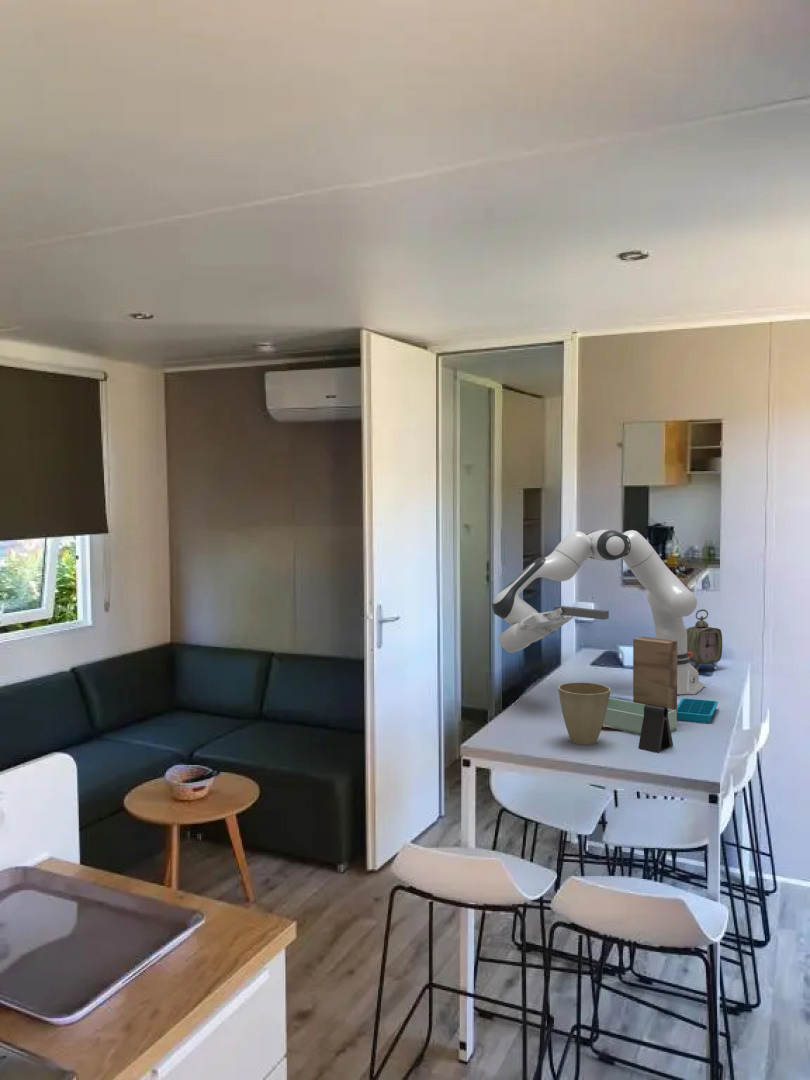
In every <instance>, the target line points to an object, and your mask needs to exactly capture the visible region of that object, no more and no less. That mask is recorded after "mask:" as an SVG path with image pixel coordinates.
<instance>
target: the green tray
mask: <svg viewBox="0 0 810 1080" xmlns="http://www.w3.org/2000/svg"><path fill="white" fill-rule="evenodd" d="M644 706H645V704H640V703H634V702H633V701H629V700H623V699H617V698H612V697H609V702H608V707H607V711H606V715H605V719H604V723H603V724H605V725H609V726H612V727H615V728H617V729H620V730H622V731H621V732H623V731H626V732H625V733H628V732H629V734H633V733H635V734H634V735H637V734H639V735H638V736H640V735H641V729H642V724H643V718H644ZM668 720H669V726H670V731H671V733H673V732H674V731H677V723H678V720H677V710H672V709H668Z"/></svg>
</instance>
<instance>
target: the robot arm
mask: <svg viewBox="0 0 810 1080" xmlns="http://www.w3.org/2000/svg"><path fill="white" fill-rule="evenodd" d="M588 558H589V559H593V560H598V561H603V562H604V561H616V560H619V559H620V558H621V559H622V560H623V562H624V564H626V566H627V567H628V568H629V570H630V571H631V573H632V574H633V575H634V577H635V578H636V580H637V581H638V582H639V583H640V585H641V586H643V588H645V589H646V590H647V596H646V597H647V598H646V599H647V601H648V604H649V606H650V609H651V614H652V619H653V624H654V629H655V630H654V632H655V634H654V635H655V638H658V639H666V640H675V641H677V695H697V694H698V693H699V692H701V691H702V690H703V689H704V688H703V687H704V686H705V685H706V684H705V683H702V682H700V680H699V679H700V676H699V675H700V674H699V673H700V672H698V671H697V670H696V669H695V667H694V666H693V665H692V664H691V662H690V659H689V657H690V658H692V656H693V653H692V652H687V630H686V629H687V628H686V626H685V623H684V620H683V617H688V616H690V615H692V614H693V613H694V612H695V610H696V609H697V605H698V600H697V596H696V595H695V594H694V593H693V592H692V591H691V590H690V589H689V588H687V586H686V585H685V584H684V583H683V582H682V581H681V579H679V578H678V576H676V575H675V574H674V573H673V571H671V569H670V568H669V567H668V566H667V564H665V563H664V561H663V559H661V557H660V555H659V554H658V553H657V551H656V550H655V549H654V547H653V546H652V545H651V544H650V542H648V540H647V539H646V538H645V537H644V536H643V535H642V534H641V533H640V532H638V531H637V530H633V529H631V530H630V529H629V530H627V531H624V532H623V533H621V532H619V531H618V530H617V531H616V530H610V529H599V530H592V531H590V532H588V533H586V534H585V533H584V532H582V531H579V530H573V531H571V532H569V533H568V534H567V535H566V536H565V537H564V538H563V539H562V540H561V541H560V542H559V543H558V545H556V547H555V548H554V549H553V551H552V552H551V553H550V554H549V555H547V556H545V557H538V558H536V559H535V560H533V561H532V562H530V564H528V565H527V566H526V567H525V568H524V570H522V571H521V572H520V573H519V574H518V575H517V576H516V577H515V578H514V579H513V580H512V581H511V582H510V583H509V584H508V585H507V586H506V587H505V588H503V589H501V590H500V591H499V592H498V593H497V594H496V595H494V597H493V598H492V601H491V607H492V611H493V614H494V615H496V616H497V617H499V618H500V619H502V620H503V621H505V622H506V623H508V624H509V625H510V626H509V627H508V628H507V629H505V630H503V632H501V633H500V634H499V636H498V643H499V645H500V646H501V648H502V649H504V650H505V651H506V652H507V653H516V652H519V651H521V650H524V649H525V648H527V647H529V646H530V645H531V644H532V643H536V642H538V641H540V640H541V639H543V638H545V637H547V636H548V635H550V634H553V633H555V632H557V631H558V628H560V627H562V626H564V625H565V624H567V623H568V622H569V621H571V620H572V619H573V618H574V616H567V615H561V614H562V613H564V610H563V608H559V609H557V610H555V611H554V610H549V611H546V612H538V611H537V609H536V608H534V607H533V606H532V605H530V604H529V603H528V602H526V601H525V600H524V599H523V598H521V597H520V593H522V592H523V591H524V589H526V588H527V587H528V586H529V585H530V584H531V583H532V582H533V581H534V580H536V579H537V578H544V579H548V580H551V581H552V580H553V581H556V582H566V581H569V580H571V579H572V578H573V577H574V576H575V575H576V573H578V571H579V570H580V568H581V567H582V566H583V563H584V562H585V561H586V560H587V559H588ZM702 688H703V689H702ZM701 689H702V690H701ZM700 690H701V691H700ZM698 691H699V692H698ZM697 692H698V693H697ZM696 693H697V694H696Z"/></svg>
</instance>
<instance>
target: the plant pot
mask: <svg viewBox="0 0 810 1080" xmlns="http://www.w3.org/2000/svg"><path fill="white" fill-rule="evenodd" d="M557 688H558V697H559V703H560V707H561V708H560V709H561V713H562V716H563V721H564V724H565V728H566V731H567V735H568V736H569V739H570V741H571V742H572V743H574V744H576V745H580V744H581V746H582V745H583V746H590V745H589V744H591V745H595V744H597V741H598V739H599V737H600V734H601V731H602V728H603V727H602V726H603V723H604V719H605V715H606V711H607V707H608V702H609V698H610V694H611V688H610V687H608V686H606V685H603V684H599V683H594V682H586V681H585V682H583V681H582V682H581V681H579V682H567V683H562V684H560V685H558V687H557Z"/></svg>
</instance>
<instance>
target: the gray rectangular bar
mask: <svg viewBox="0 0 810 1080" xmlns="http://www.w3.org/2000/svg"><path fill="white" fill-rule="evenodd" d="M559 608H563V610H564V613H562V614H561V615H567V616H573V617H575V618H586V619H595V620H608V619H610V618H609V617H610V616H609V615H610V613H609V612H610V611H609V610H604V609H594V608H588V607H587V608H585V607H584V608H583V607H578V606H577V607H574V606H566V605H554V606H553V611H555V610H557V609H559Z"/></svg>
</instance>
